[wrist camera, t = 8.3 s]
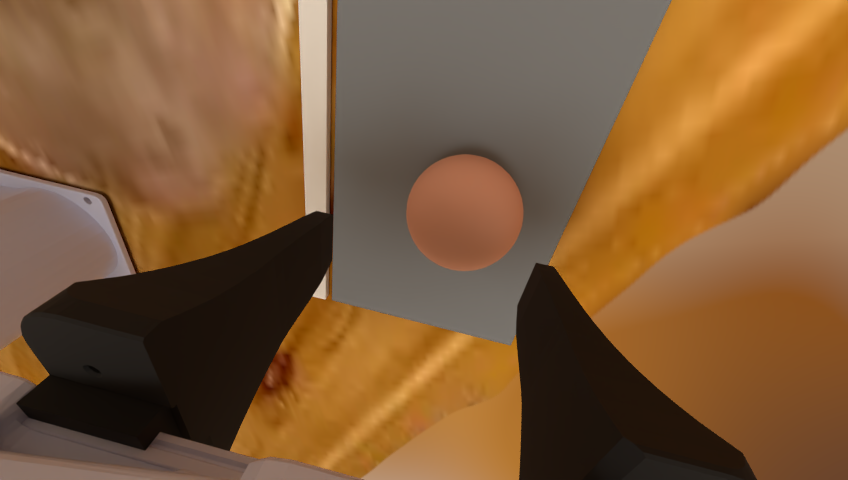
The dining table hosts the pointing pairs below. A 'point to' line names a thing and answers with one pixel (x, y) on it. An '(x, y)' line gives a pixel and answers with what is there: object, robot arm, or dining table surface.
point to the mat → (458, 133)
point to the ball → (464, 212)
